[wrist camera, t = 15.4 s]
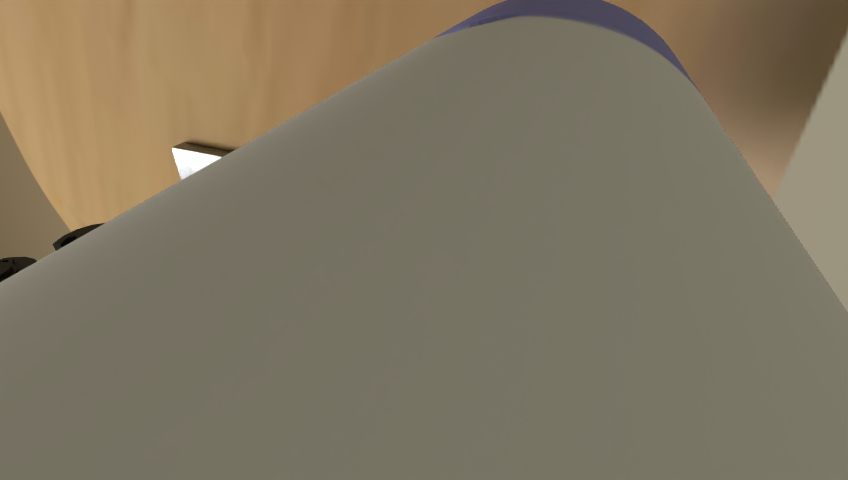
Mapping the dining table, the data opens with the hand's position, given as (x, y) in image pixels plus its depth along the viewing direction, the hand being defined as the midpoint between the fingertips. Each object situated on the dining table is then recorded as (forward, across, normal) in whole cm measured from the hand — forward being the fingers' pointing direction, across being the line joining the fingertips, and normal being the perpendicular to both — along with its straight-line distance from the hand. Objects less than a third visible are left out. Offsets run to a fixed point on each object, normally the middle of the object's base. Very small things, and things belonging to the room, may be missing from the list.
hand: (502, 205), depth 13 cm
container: (+5, 0, 0) cm, 5 cm away
